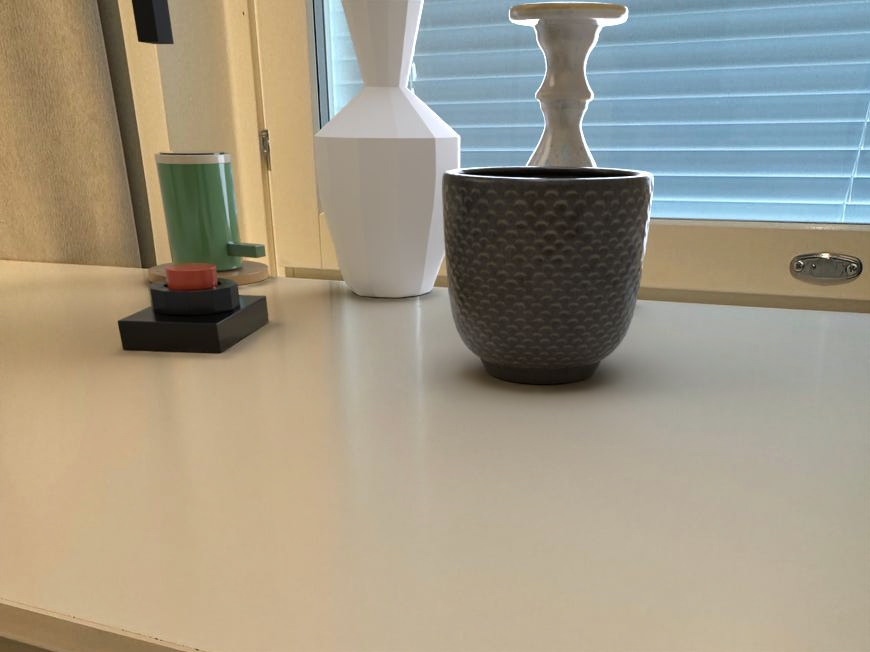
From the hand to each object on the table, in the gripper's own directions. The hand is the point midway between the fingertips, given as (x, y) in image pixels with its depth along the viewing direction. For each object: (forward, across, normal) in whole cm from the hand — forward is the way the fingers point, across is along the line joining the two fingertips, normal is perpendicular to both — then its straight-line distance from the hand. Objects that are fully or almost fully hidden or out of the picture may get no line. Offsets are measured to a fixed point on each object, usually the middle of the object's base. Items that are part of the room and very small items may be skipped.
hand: (156, 42), depth 64 cm
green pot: (+19, +8, -27) cm, 34 cm away
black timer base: (+20, 0, 0) cm, 20 cm away
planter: (+21, -29, +8) cm, 36 cm away
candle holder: (+21, -29, -19) cm, 40 cm away
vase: (+21, -12, -23) cm, 33 cm away
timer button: (+17, 0, 0) cm, 17 cm away
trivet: (+20, +10, -28) cm, 36 cm away
